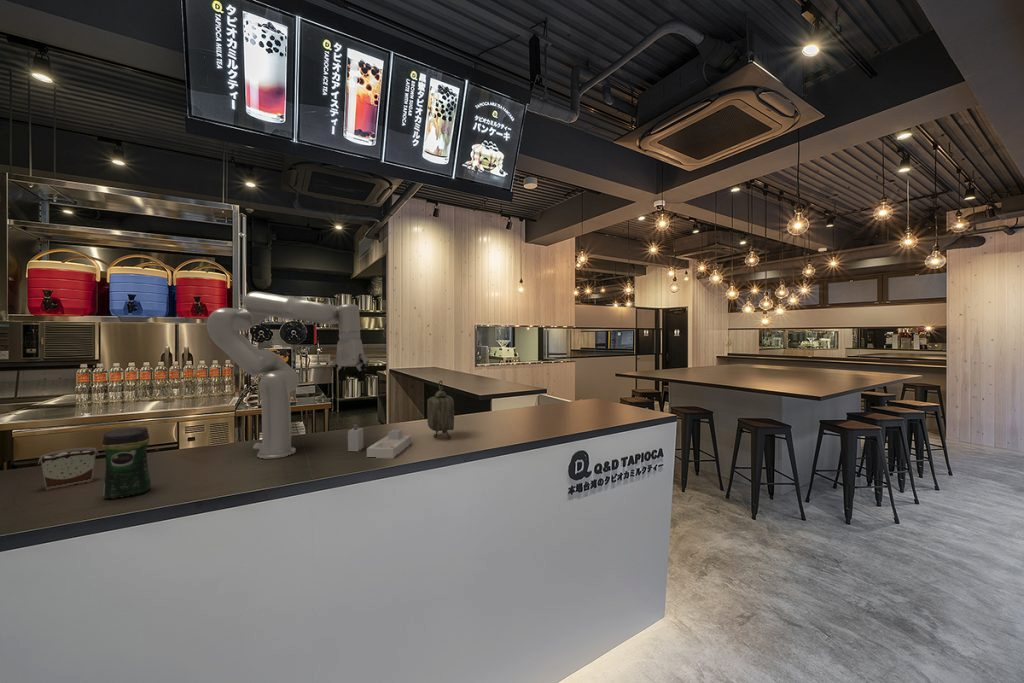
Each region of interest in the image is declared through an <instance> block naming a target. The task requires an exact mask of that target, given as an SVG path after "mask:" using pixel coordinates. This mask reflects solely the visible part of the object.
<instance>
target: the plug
mask: <svg viewBox="0 0 1024 683" xmlns="http://www.w3.org/2000/svg"><path fill="white" fill-rule="evenodd" d="M362 448H363V449H364V428H360V427H359V428H358V424H356V423H355V424H353V428H351V429H349V430H347V452H348V451H358V452H360V451H361V449H362ZM363 449H362V450H363ZM359 450H360V451H359Z"/></svg>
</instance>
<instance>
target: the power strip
mask: <svg viewBox="0 0 1024 683" xmlns="http://www.w3.org/2000/svg"><path fill="white" fill-rule="evenodd" d="M410 444H411V445H412V435H403V429H399V428H398V429H396V428H395V429H394V428H393V429H391V430H390V431H388V433H387V435H386V436H384V437H383V438H381V439H379V440H378V441H376V442H374V444H371V445H370V446H368V447H367V448H366V458H367V457H376V458H375V459H395V458H396V457H397V456H398V455H400V454H401V453H402V452H403V451H405V450H406V449H407V448H409V447H410V446H411V445H410ZM409 445H410V446H409ZM406 447H407V448H406ZM405 448H406V449H405ZM404 449H405V450H404ZM402 450H403V451H402ZM401 451H402V452H401ZM400 452H401V453H400ZM399 453H400V454H399ZM397 454H398V455H397ZM396 455H397V456H396ZM395 456H396V457H395ZM394 457H395V458H394Z"/></svg>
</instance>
